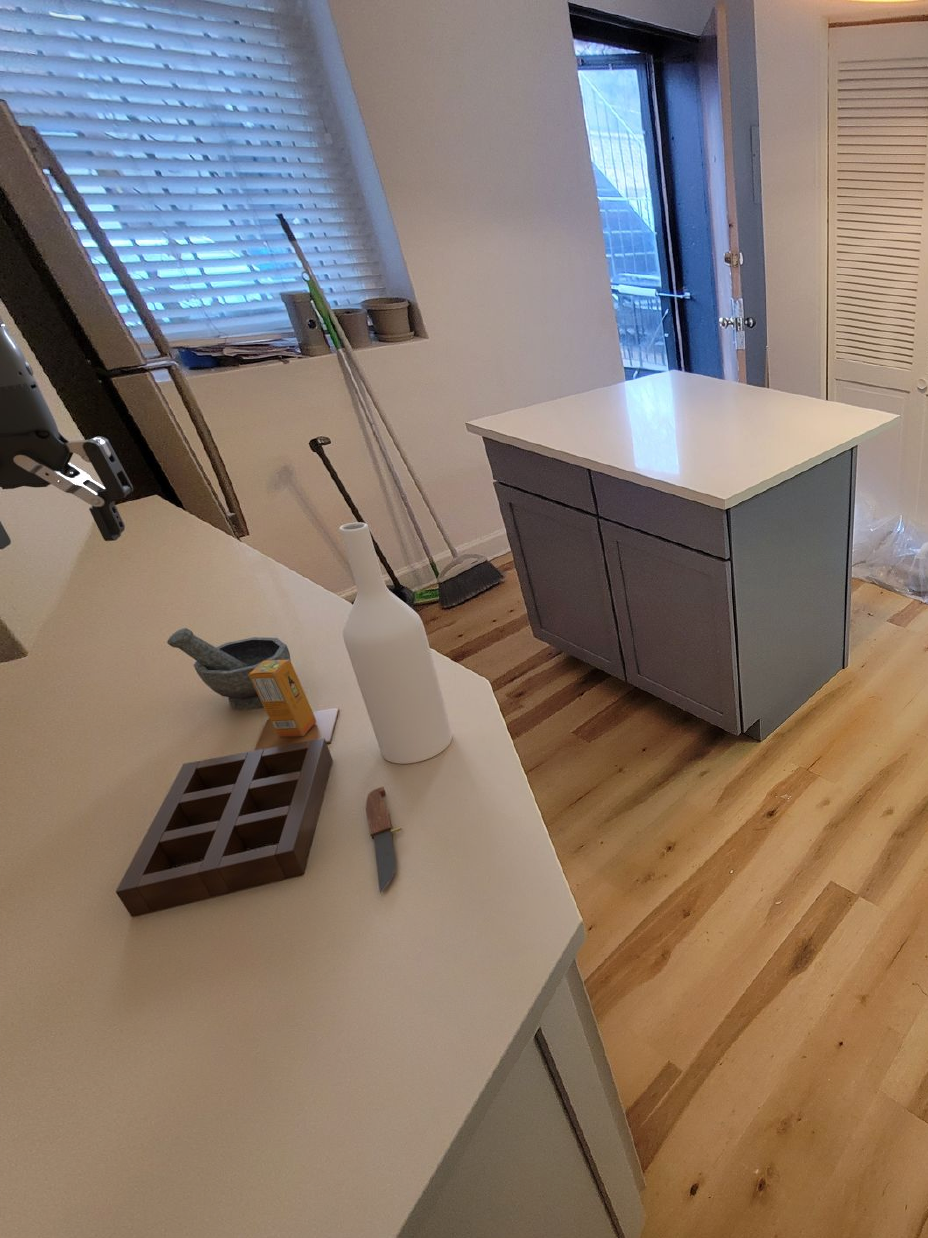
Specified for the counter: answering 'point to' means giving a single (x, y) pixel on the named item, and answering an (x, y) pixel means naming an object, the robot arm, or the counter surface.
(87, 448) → the robot arm
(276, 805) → the rack
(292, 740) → the coaster
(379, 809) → the knife
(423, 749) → the bottle
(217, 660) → the mortar and pestle
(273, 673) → the supplement box
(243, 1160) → the counter surface
